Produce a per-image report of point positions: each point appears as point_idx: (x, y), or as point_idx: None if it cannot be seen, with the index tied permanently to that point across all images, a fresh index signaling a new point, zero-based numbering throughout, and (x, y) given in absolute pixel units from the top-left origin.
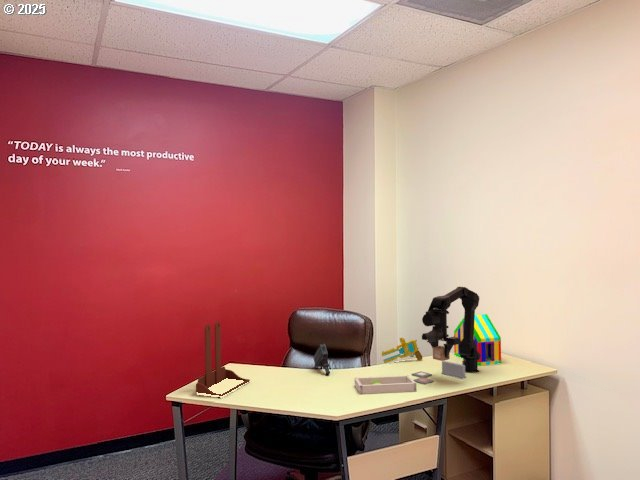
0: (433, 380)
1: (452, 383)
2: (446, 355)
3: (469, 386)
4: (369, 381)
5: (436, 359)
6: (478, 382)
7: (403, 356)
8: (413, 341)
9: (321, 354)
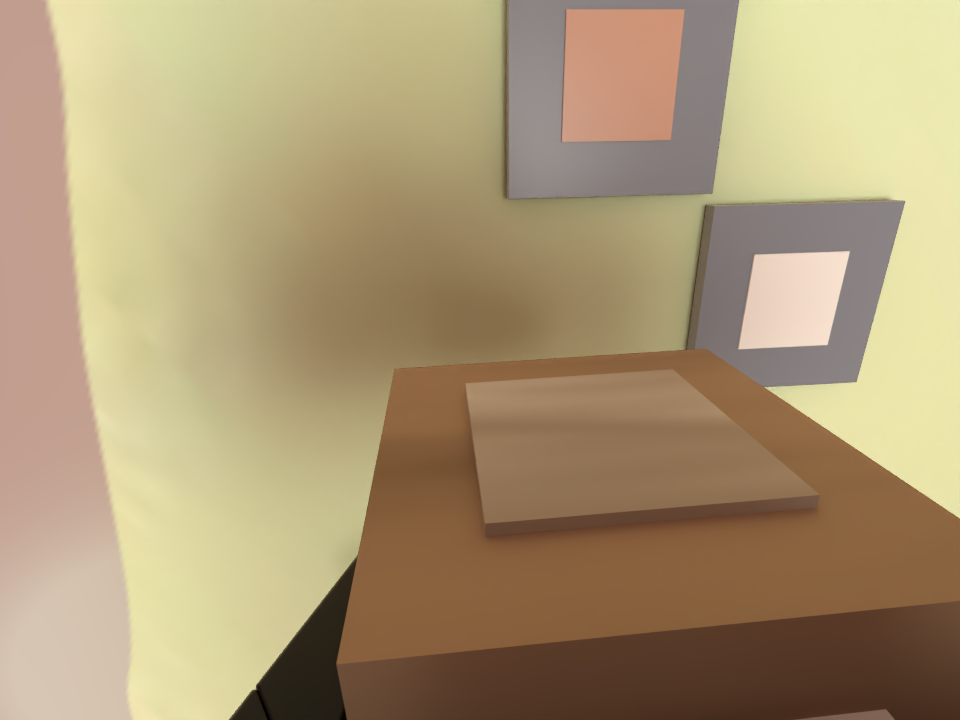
0: (511, 183)
1: (310, 321)
2: (346, 573)
3: (103, 382)
4: None
5: (591, 356)
6: (180, 560)
7: None
8: None
9: None
